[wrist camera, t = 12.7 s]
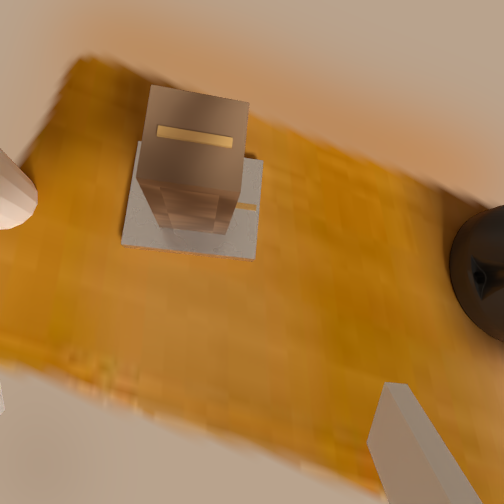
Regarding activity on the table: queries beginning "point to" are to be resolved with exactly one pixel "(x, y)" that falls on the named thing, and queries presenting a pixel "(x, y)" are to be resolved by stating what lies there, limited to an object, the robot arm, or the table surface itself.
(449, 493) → the robot arm
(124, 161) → the table surface
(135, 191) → the grey stand base
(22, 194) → the white cup
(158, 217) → the brown slotted box
